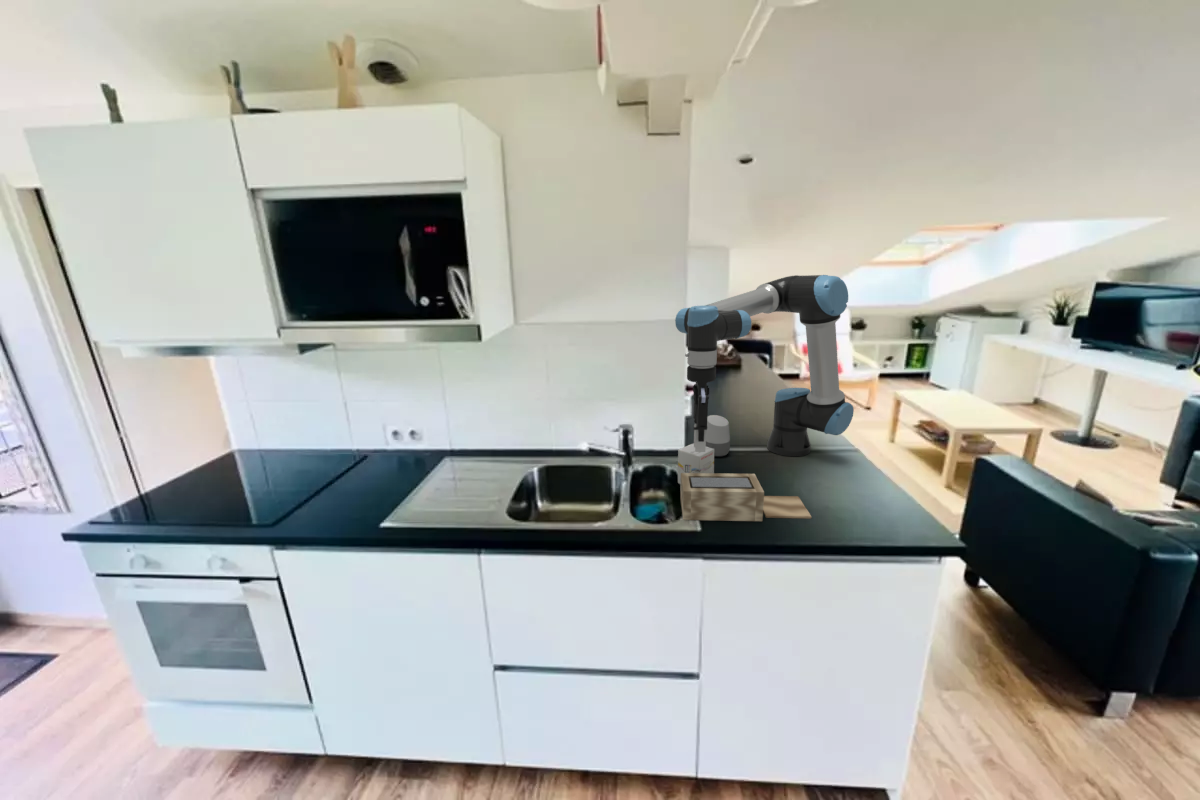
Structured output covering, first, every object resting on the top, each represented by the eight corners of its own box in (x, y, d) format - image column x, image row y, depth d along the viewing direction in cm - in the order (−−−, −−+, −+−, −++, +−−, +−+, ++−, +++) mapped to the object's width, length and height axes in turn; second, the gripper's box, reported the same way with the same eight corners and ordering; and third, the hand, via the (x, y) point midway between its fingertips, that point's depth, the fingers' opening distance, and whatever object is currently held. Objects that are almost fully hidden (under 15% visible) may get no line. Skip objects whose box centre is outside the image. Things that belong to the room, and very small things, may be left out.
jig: (753, 500, 143) (754, 473, 140) (762, 521, 131) (764, 492, 129) (680, 499, 145) (680, 473, 143) (683, 519, 133) (683, 491, 131)
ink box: (692, 474, 162) (693, 442, 159) (714, 482, 156) (715, 448, 153) (676, 483, 156) (677, 449, 153) (698, 491, 150) (699, 455, 147)
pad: (756, 497, 144) (756, 495, 144) (798, 498, 143) (798, 496, 143) (765, 517, 133) (766, 515, 133) (811, 518, 132) (811, 516, 132)
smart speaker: (718, 460, 172) (719, 423, 169) (698, 453, 179) (699, 417, 176) (734, 454, 178) (736, 417, 174) (714, 447, 185) (715, 412, 181)
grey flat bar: (747, 485, 138) (747, 478, 138) (751, 495, 133) (751, 487, 132) (690, 485, 140) (690, 477, 139) (692, 494, 134) (692, 486, 134)
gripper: (684, 360, 136) (683, 439, 142) (689, 372, 120) (688, 460, 126) (712, 359, 135) (709, 439, 141) (720, 371, 119) (717, 460, 126)
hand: (699, 448), depth 134 cm, fingers open, 3 cm apart
